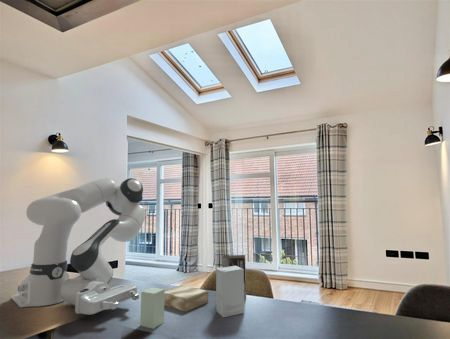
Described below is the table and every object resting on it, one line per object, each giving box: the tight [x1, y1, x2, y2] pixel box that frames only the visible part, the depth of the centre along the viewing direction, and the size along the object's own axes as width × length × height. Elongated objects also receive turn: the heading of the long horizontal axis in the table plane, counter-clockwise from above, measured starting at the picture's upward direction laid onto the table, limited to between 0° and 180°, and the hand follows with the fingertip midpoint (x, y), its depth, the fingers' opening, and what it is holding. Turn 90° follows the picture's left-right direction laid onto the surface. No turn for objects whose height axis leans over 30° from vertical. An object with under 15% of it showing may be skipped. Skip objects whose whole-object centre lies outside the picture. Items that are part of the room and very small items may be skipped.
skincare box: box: [215, 266, 245, 318], centre depth 100 cm, size 8×6×15 cm
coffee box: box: [221, 254, 247, 302], centre depth 116 cm, size 9×6×16 cm
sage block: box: [139, 286, 166, 330], centre depth 91 cm, size 5×5×10 cm
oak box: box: [164, 284, 209, 313], centre depth 110 cm, size 14×12×4 cm
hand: (127, 301), depth 96 cm, fingers open, 8 cm apart
